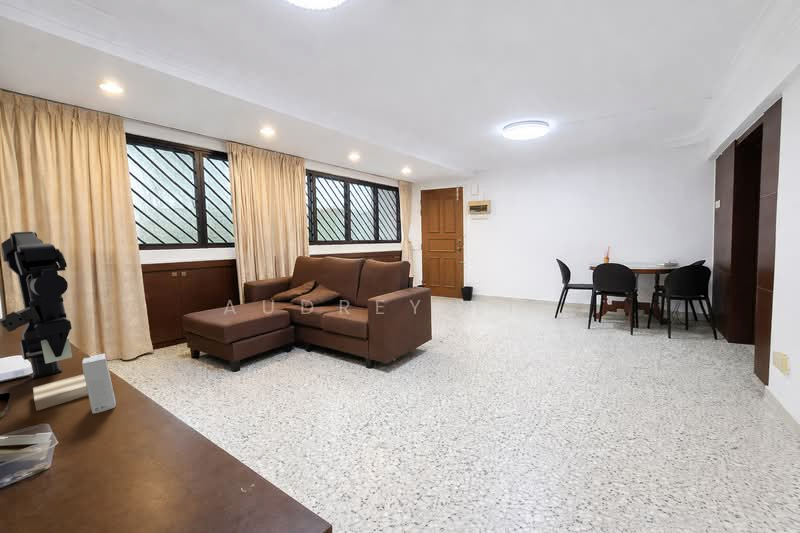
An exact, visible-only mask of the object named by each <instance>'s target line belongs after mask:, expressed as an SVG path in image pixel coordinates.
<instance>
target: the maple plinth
mask: <svg viewBox="0 0 800 533" xmlns="http://www.w3.org/2000/svg"><path fill="white" fill-rule="evenodd" d="M32 390H33V391H32V392H33V402H34V406H35V409H36V410H35V411H40V410H43V409H44V410H45V409H47V408H50V407H54V406H57V405H61V404H63V403H68V402H70V401H71V402H72V401H74V400H76V399H80V398H84V397H86V396H88V391H87V386H86V381H85V377H84V373H82V374H79V375H75V376H71V377H68V378H67V377H66V378H63V379H59V380H56V381H53V382H49V383H45V384H41V385H37V386H34V387H33V388H32Z"/></svg>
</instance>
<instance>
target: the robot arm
mask: <svg viewBox="0 0 800 533" xmlns="http://www.w3.org/2000/svg"><path fill="white" fill-rule="evenodd" d="M0 251H1V257H2V261H3V262H6V264H7V267H8V268H9V269H10V270H11V271H12V272H13V273H14V274H16V275H17V279H18V284H19V289H20V293H21V299H22V303H23V308H22V309H20V310H18V311H12V312H10V313H7V314H6V313H5V316H4V317H2V318H0V324H1V326H2V327H3V329H5V330H6V332H8V333H10V332H13V331H15V330H17V329H18V328H20V327H23V326H24V328H23V329H22V333H21V337H22V338H21V339H20V341H19V342H20V344H19V345H20V352H21V355H22V356H21V357H22V358H23V360H24V361H26V360H30V366H31V369H32V370H31V371H32V372H31V380H34V379H39V378H43V377H47V376H51V375H54V374H58V373H62V370H63V369H62V366H61V365H60V364H59V361H55V362H50V363H46V364H45V359H44V354H43V349H42V344H41V341H42V340H47V342H48V343H49V345H50V347H51V349H52V351H53V353H54V355H55V357H60V356H62V353H63V350H64V346H65V343H66V340H67V338H69V334H70V332H71V330H72V329H73V328H72V327H73V326H72V323H71V320H70V319H68V318H67V313H66V310H65V304H64V297H63V295H64V294H65V293H66V291H67V290H68V286H69V284H68V281H67V280H66V278H64V277H63V276H61V275H59V272H61V271H66V268H67V266H68V265H67V261H66V259H65V256H64V254H63V252H62V251H60V249H59V248H56V247H55V244H51V243H44V241H43V240H42V239H40V238H39V237H38V235H37V232H35V231H34V232H33V231H17V232H16V231H13V232H12V233H11V232H10V234H9V238H8V239H5V240H4V241H3V242H2V243H1V244H0Z"/></svg>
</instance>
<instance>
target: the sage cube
mask: <svg viewBox="0 0 800 533" xmlns="http://www.w3.org/2000/svg"><path fill="white" fill-rule="evenodd" d="M41 344H42V349H43V354H44V359H45V364H46V363H50V362H55V361H58V362H59V361H62V360H66V359H71V358H73V354H72V348H71V342H70V338H69V337H68V338H67V340H66V343H65V346H64V350H63V353H62V356H60V357H55V355H54V353H53V351H52V349H51V347H50V345H49V343H48V342H47V340H42V341H41Z"/></svg>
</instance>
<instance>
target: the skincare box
mask: <svg viewBox="0 0 800 533" xmlns="http://www.w3.org/2000/svg"><path fill="white" fill-rule="evenodd" d="M81 363H82V364H81V367H82V371H83V373H82V374H84V377H85V381H86V386H87V391H88V395H87V396H88V401H89V404H90V409H91V413H92V414H99V413H102V412H106V411H108V410H112V409H115V407H116V405H117V404H116V396H115V393H114V389H113V388H114V387H113V383H112V379H111V372H110V369H109V368H110V367H109V365H108V362H107V356H106V352H105V353H99V354H96V355H95V354H94V355H92V356H91V355H90V356H87V357H83V359H82V362H81Z"/></svg>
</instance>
